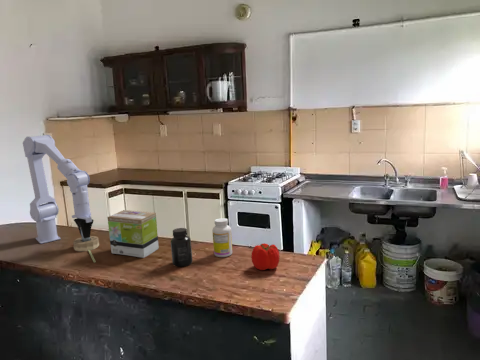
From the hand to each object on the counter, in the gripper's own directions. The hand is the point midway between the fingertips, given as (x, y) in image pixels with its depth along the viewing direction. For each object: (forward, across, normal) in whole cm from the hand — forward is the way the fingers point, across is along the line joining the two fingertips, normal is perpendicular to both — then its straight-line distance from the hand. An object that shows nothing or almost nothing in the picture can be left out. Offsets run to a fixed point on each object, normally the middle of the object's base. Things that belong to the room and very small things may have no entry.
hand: (85, 236), depth 160 cm
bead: (+4, 0, 0) cm, 4 cm away
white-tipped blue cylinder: (+2, 0, 0) cm, 3 cm away
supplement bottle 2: (+5, +45, +34) cm, 57 cm away
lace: (+4, +12, -2) cm, 13 cm away
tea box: (+5, +19, +12) cm, 23 cm away
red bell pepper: (+5, +65, +37) cm, 75 cm away
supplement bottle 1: (+5, +42, +19) cm, 46 cm away
